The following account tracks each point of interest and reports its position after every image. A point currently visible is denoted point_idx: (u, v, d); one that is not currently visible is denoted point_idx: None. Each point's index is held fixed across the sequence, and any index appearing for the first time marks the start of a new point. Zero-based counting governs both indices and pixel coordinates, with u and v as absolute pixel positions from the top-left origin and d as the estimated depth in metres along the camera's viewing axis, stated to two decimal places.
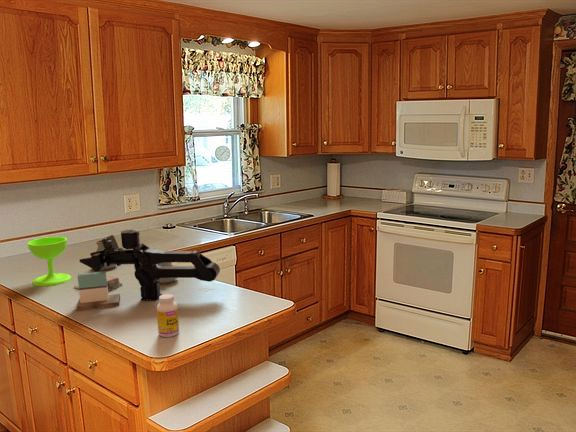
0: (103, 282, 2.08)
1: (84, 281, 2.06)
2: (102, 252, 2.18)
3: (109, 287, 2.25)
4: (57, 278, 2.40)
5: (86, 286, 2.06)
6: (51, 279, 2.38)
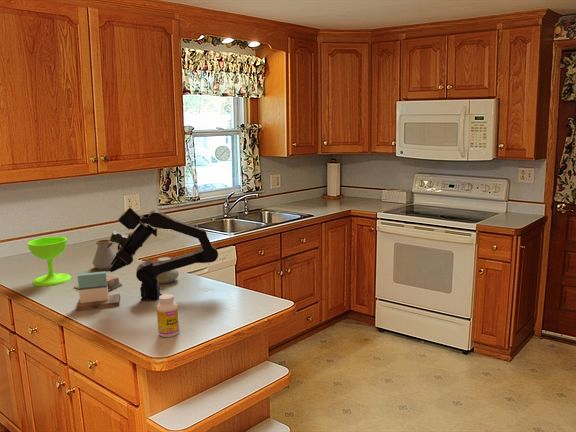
0: (103, 282, 2.08)
1: (84, 281, 2.06)
2: None
3: (109, 287, 2.25)
4: (57, 278, 2.40)
5: (86, 286, 2.06)
6: (51, 279, 2.38)
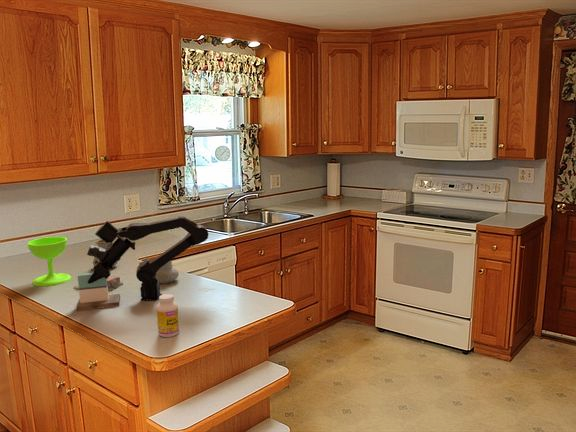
0: (103, 282, 2.08)
1: (84, 281, 2.06)
2: None
3: (111, 286, 2.26)
4: (57, 278, 2.40)
5: (86, 286, 2.06)
6: (51, 279, 2.38)
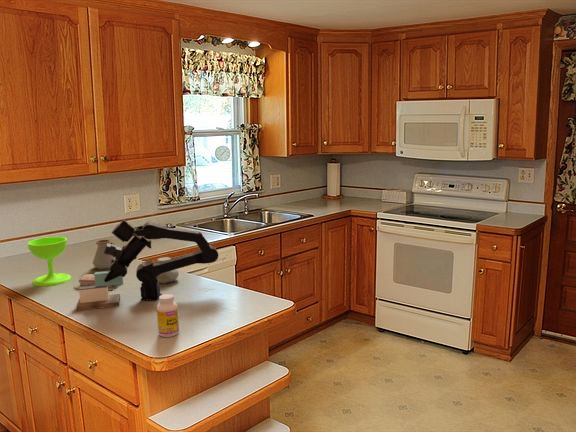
0: (119, 280, 2.09)
1: (100, 279, 2.07)
2: None
3: (112, 286, 2.27)
4: (57, 278, 2.40)
5: (102, 284, 2.08)
6: (51, 279, 2.38)
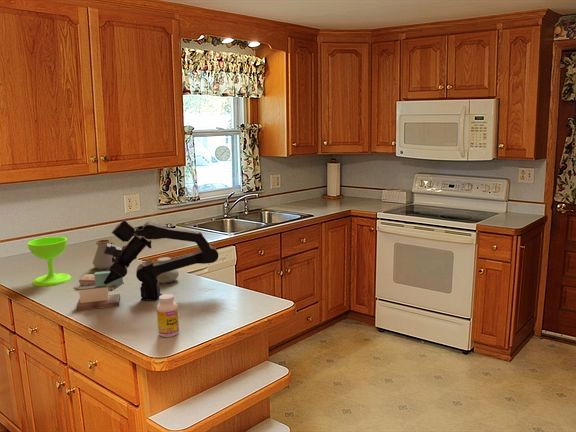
0: (119, 280, 2.09)
1: (100, 279, 2.07)
2: None
3: (113, 285, 2.27)
4: (57, 278, 2.40)
5: (103, 284, 2.08)
6: (51, 279, 2.38)
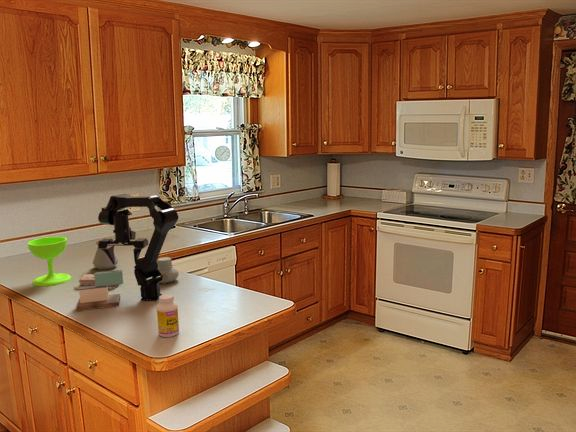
0: (119, 280, 2.09)
1: (100, 279, 2.07)
2: None
3: None
4: (57, 278, 2.40)
5: (103, 284, 2.08)
6: (51, 279, 2.38)
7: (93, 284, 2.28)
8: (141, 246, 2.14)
